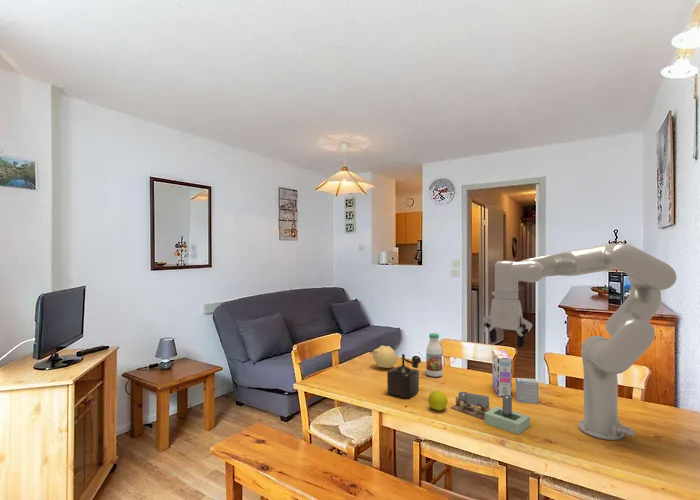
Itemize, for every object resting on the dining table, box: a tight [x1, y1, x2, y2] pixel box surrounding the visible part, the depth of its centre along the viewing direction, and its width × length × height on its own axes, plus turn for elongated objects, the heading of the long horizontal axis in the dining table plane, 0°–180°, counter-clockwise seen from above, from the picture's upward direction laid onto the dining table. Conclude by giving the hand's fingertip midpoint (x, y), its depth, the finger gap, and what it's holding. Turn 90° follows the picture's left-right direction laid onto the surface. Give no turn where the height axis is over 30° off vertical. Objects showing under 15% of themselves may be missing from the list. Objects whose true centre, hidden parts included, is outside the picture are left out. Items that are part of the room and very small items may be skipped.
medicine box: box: [515, 377, 540, 405], centre depth 154 cm, size 8×4×9 cm, turn 75°
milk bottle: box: [425, 332, 443, 378], centre depth 187 cm, size 8×8×20 cm
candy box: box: [491, 349, 513, 398], centre depth 165 cm, size 14×6×16 cm, turn 168°
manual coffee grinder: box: [386, 353, 422, 399], centre depth 162 cm, size 16×11×18 cm
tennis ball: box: [427, 390, 448, 411], centre depth 146 cm, size 7×7×7 cm
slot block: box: [484, 405, 531, 435], centre depth 133 cm, size 12×9×4 cm
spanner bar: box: [457, 391, 490, 408], centre depth 144 cm, size 12×3×4 cm, turn 42°
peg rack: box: [450, 396, 491, 421], centre depth 144 cm, size 14×7×4 cm, turn 42°
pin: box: [502, 395, 513, 419], centre depth 133 cm, size 3×3×10 cm
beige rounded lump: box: [372, 345, 398, 369], centre depth 200 cm, size 11×12×11 cm
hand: (506, 344), depth 133 cm, fingers open, 9 cm apart
